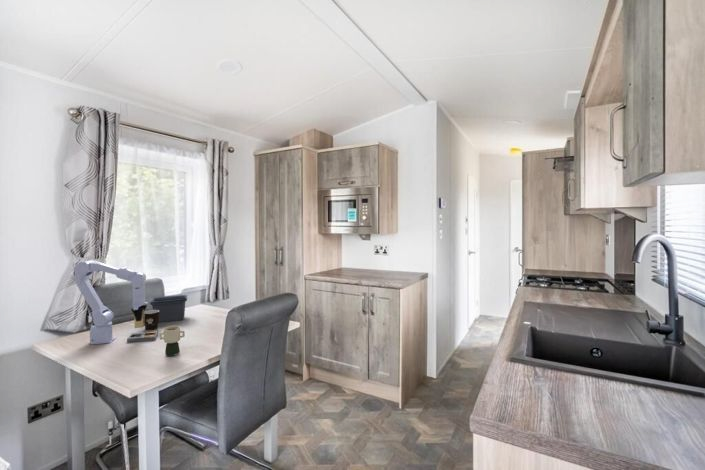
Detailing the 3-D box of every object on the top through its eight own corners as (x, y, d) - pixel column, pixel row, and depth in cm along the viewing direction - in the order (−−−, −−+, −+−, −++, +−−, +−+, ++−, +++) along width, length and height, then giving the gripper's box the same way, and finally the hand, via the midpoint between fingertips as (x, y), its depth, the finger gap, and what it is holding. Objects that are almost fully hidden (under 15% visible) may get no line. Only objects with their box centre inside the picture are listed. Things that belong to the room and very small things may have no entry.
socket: (127, 342, 186) (126, 338, 186) (132, 337, 194) (132, 333, 194) (154, 340, 190) (154, 336, 190) (158, 334, 198) (158, 330, 198)
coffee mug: (162, 326, 213) (162, 310, 213) (153, 331, 205) (153, 314, 204) (144, 325, 215) (144, 309, 214) (134, 330, 206) (134, 313, 206)
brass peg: (134, 328, 189) (134, 311, 188) (136, 325, 193) (136, 309, 192) (143, 327, 190) (142, 310, 190) (145, 325, 194) (144, 309, 193)
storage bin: (149, 324, 217) (148, 301, 216) (152, 317, 231) (152, 296, 231) (187, 320, 225) (186, 298, 225) (188, 314, 240) (188, 293, 239)
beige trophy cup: (185, 350, 175) (185, 324, 175) (184, 355, 169) (183, 329, 168) (161, 353, 172) (160, 327, 171) (158, 358, 165) (157, 331, 164)
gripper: (143, 297, 185) (144, 323, 185) (150, 291, 198) (151, 315, 199) (128, 298, 183) (129, 324, 183) (136, 292, 196) (137, 316, 197)
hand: (139, 319), depth 191 cm, fingers closed on brass peg, 4 cm apart
